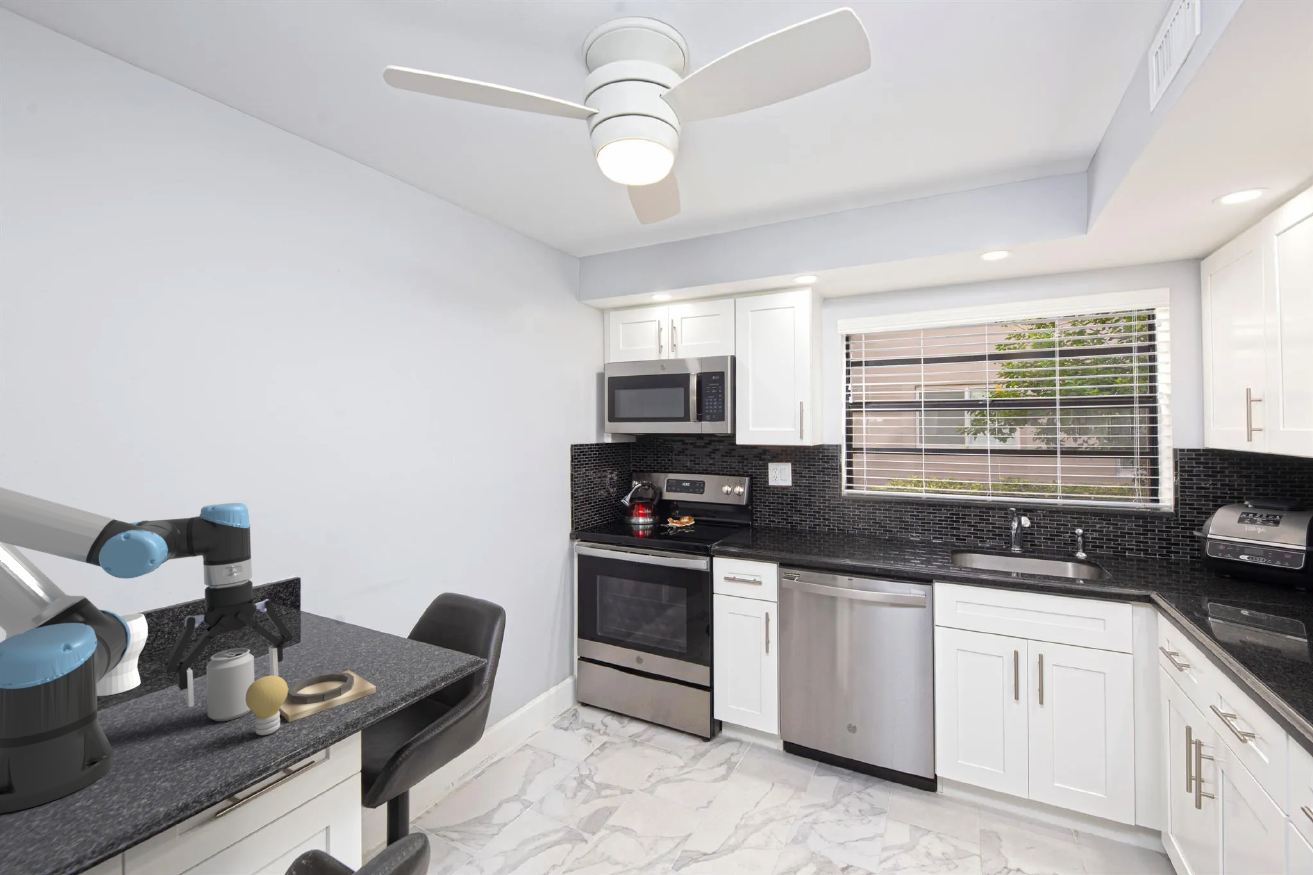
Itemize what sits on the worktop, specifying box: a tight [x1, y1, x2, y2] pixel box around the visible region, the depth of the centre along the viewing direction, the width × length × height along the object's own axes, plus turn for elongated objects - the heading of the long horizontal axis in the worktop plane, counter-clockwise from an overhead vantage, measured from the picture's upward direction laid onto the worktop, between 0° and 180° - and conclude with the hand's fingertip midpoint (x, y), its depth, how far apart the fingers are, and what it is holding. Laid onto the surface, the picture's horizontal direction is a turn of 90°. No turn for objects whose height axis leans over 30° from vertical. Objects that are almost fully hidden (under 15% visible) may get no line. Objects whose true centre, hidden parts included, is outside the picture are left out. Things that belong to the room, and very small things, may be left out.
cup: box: [97, 612, 149, 697], centre depth 126 cm, size 11×11×15 cm
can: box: [205, 647, 256, 722], centre depth 113 cm, size 8×8×12 cm
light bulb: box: [246, 675, 289, 736], centre depth 105 cm, size 6×6×10 cm
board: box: [278, 669, 377, 723], centre depth 119 cm, size 16×14×3 cm
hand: (234, 691), depth 113 cm, fingers open, 13 cm apart
